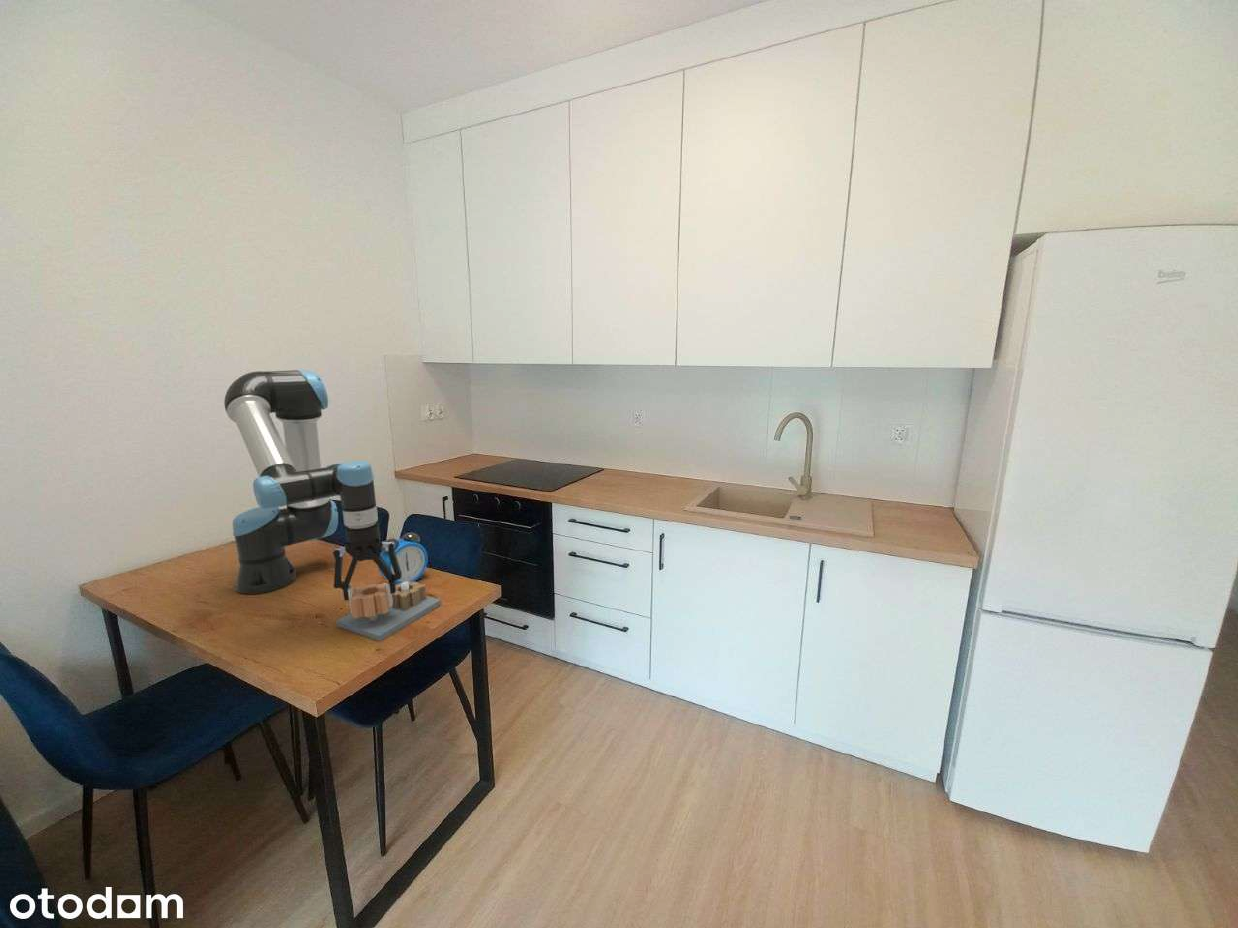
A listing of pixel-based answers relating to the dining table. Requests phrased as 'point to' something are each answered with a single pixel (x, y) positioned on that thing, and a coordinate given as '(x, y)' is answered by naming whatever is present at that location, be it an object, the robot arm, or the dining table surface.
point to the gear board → (393, 612)
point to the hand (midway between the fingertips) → (372, 607)
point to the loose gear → (369, 600)
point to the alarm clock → (407, 557)
